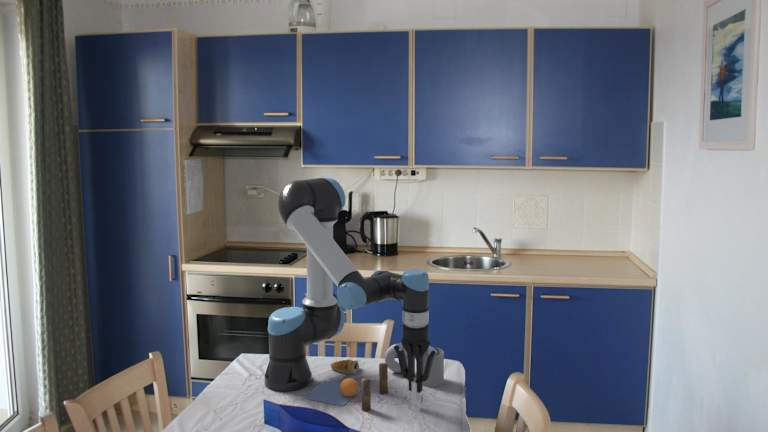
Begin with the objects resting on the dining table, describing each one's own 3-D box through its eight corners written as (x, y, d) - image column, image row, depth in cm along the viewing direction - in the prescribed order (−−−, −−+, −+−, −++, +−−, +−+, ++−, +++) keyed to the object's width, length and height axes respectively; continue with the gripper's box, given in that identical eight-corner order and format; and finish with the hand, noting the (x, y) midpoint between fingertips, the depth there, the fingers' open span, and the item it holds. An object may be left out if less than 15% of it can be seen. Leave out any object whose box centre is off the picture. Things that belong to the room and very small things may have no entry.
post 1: (360, 410, 192) (359, 380, 191) (364, 406, 195) (363, 377, 193) (368, 411, 191) (368, 382, 190) (372, 408, 194) (371, 378, 192)
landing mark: (302, 398, 201) (302, 397, 201) (324, 381, 213) (324, 380, 213) (343, 405, 195) (343, 405, 195) (363, 388, 208) (363, 387, 208)
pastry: (327, 372, 221) (327, 361, 221) (335, 365, 228) (335, 354, 227) (353, 375, 219) (353, 364, 218) (360, 368, 225) (360, 357, 224)
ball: (356, 395, 198) (342, 402, 200) (364, 388, 203) (350, 395, 205) (347, 379, 198) (333, 386, 200) (355, 372, 203) (341, 379, 205)
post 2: (377, 393, 204) (377, 365, 202) (381, 390, 206) (381, 362, 205) (385, 394, 203) (385, 366, 201) (389, 391, 205) (388, 363, 204)
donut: (414, 370, 222) (414, 342, 220) (414, 374, 218) (414, 345, 217) (384, 370, 222) (384, 341, 221) (384, 374, 219) (384, 345, 217)
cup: (441, 387, 208) (442, 357, 206) (415, 385, 209) (415, 355, 208) (444, 377, 216) (445, 348, 214) (419, 375, 218) (419, 346, 216)
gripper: (389, 325, 189) (389, 403, 193) (432, 330, 184) (432, 410, 187) (399, 317, 196) (399, 393, 199) (441, 322, 191) (440, 400, 194)
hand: (415, 401), depth 193 cm, fingers closed
